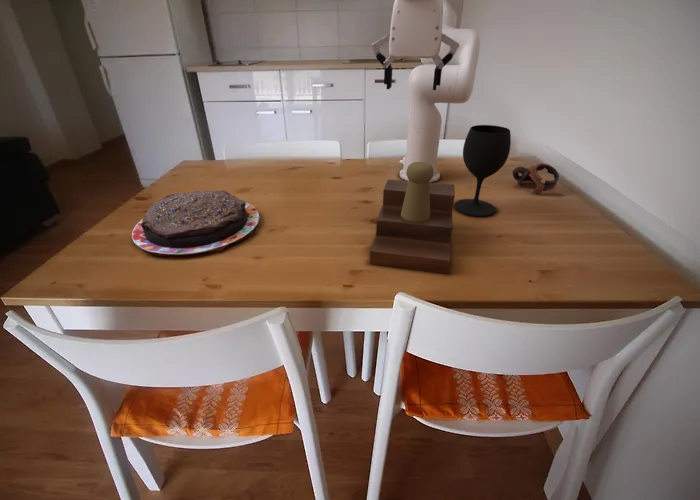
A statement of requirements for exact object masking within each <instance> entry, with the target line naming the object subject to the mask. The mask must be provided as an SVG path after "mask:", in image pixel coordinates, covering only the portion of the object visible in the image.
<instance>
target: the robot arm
mask: <svg viewBox="0 0 700 500" xmlns="http://www.w3.org/2000/svg"><path fill="white" fill-rule="evenodd" d="M392 7H393V8H392V12H391V18H390V19H391V20H390V29H389V33H388V34H386V35H385V36H382V37H381V38H380V39H378V40H375V42H373V43H372V44H371V48H372V51H373V53H374V55H375V59H376V60H377V61H378V62H379V63H380V65H381V66H382V67H383V68H384V69H383V70H384V72H383V73H384V74H383V85H386V90H390V89H391V88H392V87H393V66H392V64H393V62H394V61H395V60H396V59H420V62H421V63H422V64H421V65H420V64H419V65H417V66H415V67H414V68H412V70H411V72H409V73H410V74H409V76H408V95H409V96H408V97H409V99H408V100H409V108H408V109H409V110H408V111H409V113H408V126H407V140H406V152H405V156H403V158H402V159H400V160H399V164H400V165H403V166H402V167H403V168H401V170H400V171H399V177H400V178H401V179H403V181H409V179H408V178H407V174H406V172H407V168H408V166H409V165H410V164H411V163H414V162H425V163H429V164H430V165H431V166H432V167H433V171H434V172H433V177H432V179H431V180H430V183H435V182H437V181H439V180H440V179H441V173H440V172H439V171H438V170H437V162H438V154H439V146H440V138H441V131H442V125H443V122H442V121H443V118H442V114H441V112H440V110H439V109H438V108H437V106H436V104H457V105H458V104H464V103H467V102H468V101H469V100H470V98H471V96H472V93H473V90H474V86H475V85H474V84H475V79H476V74H477V67H478V62H479V55H480V46H481V39H480V34H479V32H477V30H475V29H473V28H456V26H457V21H458V17H457V13H456V11H455V9H454V7H453V6H452V5H451V3H450V2H449V1H448V0H394V2H393V6H392ZM387 44H388V54H389V55H388V56H387V57H386V56H385V55H384V54H383V52H382V49H381V48H382V46H385V45H387Z"/></svg>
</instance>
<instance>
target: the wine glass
mask: <svg viewBox="0 0 700 500" xmlns="http://www.w3.org/2000/svg"><path fill="white" fill-rule="evenodd" d="M511 138H512V136H511V129H510V128H508V127H504V126H499V125H494V124H493V125H492V124H478V125H473V126H471V127H470V128H469V130H468V132H467V135H466V138H465V139H464V143H463V147H462V158H463V163H464V165H465V167H466V169H467V170H468V171H469V173H470V174H471V175H472V176H474V177H475V179H476V187H475V193H474V197H473V198H466V199H459V200H457V201H456V202H454V203H453V208H454V209H455V211H457V212H458V213H460V214H462V215H464V216H468V217H475V218H486V217H487V218H488V217H490V216H493V215H494V214H496V207H495V206H494V205H493V204H492V203H490V202H487V201H485V200H480V193H481V188H482V184H483V182H484V181H485V180H486V179H487V178H489V177H491V176H493V175H494V174H496V173H497V172H499V171H500V170H501V169H502V168H503V167H504V165H505V164H506V162H507V160H508V158H509V156H510V151H511V144H512V139H511Z"/></svg>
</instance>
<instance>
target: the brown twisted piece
mask: <svg viewBox="0 0 700 500" xmlns="http://www.w3.org/2000/svg"><path fill="white" fill-rule="evenodd" d="M545 169H546V170H547V173H548V174H551V175H553V177H554V179H553V180H548V179H545V181H544V182H542V180H543V178H542V176H540V175H539V173H538V171H543V170H545ZM518 173H519V174H520V175H519V174H518ZM512 177H513V179H514V180H515V181H516V182H517V184H518V185H519V186H521V185H522V183H525V182H530V183H533V184H536V185H537V186H536V187H535V188H534V189H533V193H534V194H536V195H539V194H541V193H542V192H547V191H550V190H552V189H554V188H555V187H556V186H557V183H558V181H559V178H560V175H559V172H558V170H557V169H556V168H555V167H553V166H552V165H551V164H547V163H544V162H542V163H536V164H535V165H532V166H530V167H528V168H526V167H524V166H517V167H515V168H514V169H513V170H512Z"/></svg>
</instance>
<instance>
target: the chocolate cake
mask: <svg viewBox="0 0 700 500" xmlns="http://www.w3.org/2000/svg"><path fill="white" fill-rule="evenodd" d="M259 221H260V213H259V211H258V209H257V208H256V207H255V206H254V205H252V204H250V203H248V202H246V201H245V200H243V199H240V198H238V197H236V196H235V195H233V194H232V193H230V192H229V191H227V190H202V191H201V190H199V191H198V190H197V191H190V192H189V191H188V192H182V193H172V194H168V195H166V196H164V197H163V198H161V199H159V200H157V201H155V202H154V203H151V204H150V205H149V208H147V211H146V212H145V214H144V216H143V218H142V219H140V220H139V221H138V222H137V224H136V225H134V227H133V229H132V231H131V239H132V242H133V243H134V244H135V245H136V246H137V247H139V248H140V249H142V250H143V251H147V253H148V254H152V255H154V256H157V257H169V256H186V255H187V256H188V255H196V254H204V253H216V252H222V251H223V250H224V249H225V248H227V247H228V246H229V245H231V244H236V243H240V242H241V241H243V240H246V239H247V238H249V237H250V236H254V231H255V229H256V227H257V226H258V224H259Z"/></svg>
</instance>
